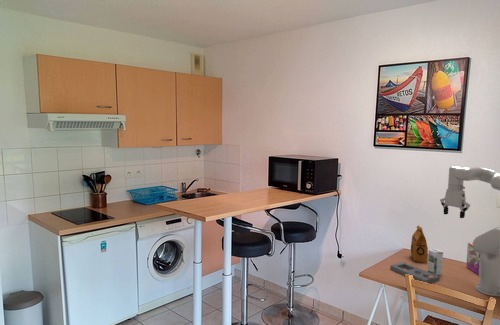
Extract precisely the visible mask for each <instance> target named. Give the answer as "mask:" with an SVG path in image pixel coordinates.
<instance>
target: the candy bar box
mask: <svg viewBox="0 0 500 325" xmlns="http://www.w3.org/2000/svg"><path fill="white" fill-rule="evenodd" d="M466 252H467V254H466V268H467V269H468V270H469V271H471V272H473V273H474V274H476V275H477V276H478V275H479V276H480V266H481V256H482V254H480V253H478V252H477V251H476V250H475V249H474V247H473V242H467V251H466Z"/></svg>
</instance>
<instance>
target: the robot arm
mask: <svg viewBox="0 0 500 325" xmlns="http://www.w3.org/2000/svg"><path fill="white" fill-rule="evenodd" d="M464 181H466V182H468V181H469V182H470V181H479V182H480V181H481V182H484V183H487V184H490V186H491V188H493V189H494V190H496V191H500V173H499V172H498V171H496V170H492V169H489V168H485V167H482V166H481V167H480V166H470V167H468V166H467V167H463V166H459V165H452V166H450V167H449V168H448V184H447V188H446V190H445V194H444V198H440V199H439V200H440V204H441V205H442V208H443V215H448V214H449V207H454V208H459V210H460V212H459V218H460V219H465V216H466V211H468V210H469V208H470V207H471V204H469V203H468V202H467V201H466V199H467V198H466V192H465V189H466V187H465V186H464ZM472 243H473V247H474V249H475V250H476V251H477V252H478V253H480V254H482V256H481V266H480V275H479V280H478V282H479V283H478V284H476V285H475V290H476V291H478V292H479V293H481V294H484V295H487V296H491V297H500V226H497V227H495V228H492V229H490V230H488V231H486V232H484V233H481V234H479V235H478V236H476V237H475V238H474V239H473V242H472Z"/></svg>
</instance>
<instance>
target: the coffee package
mask: <svg viewBox="0 0 500 325" xmlns="http://www.w3.org/2000/svg"><path fill="white" fill-rule="evenodd" d="M411 236H412V237H411V244H410V255H411V258H412V260H413V261H414V263H417V262H418V263H422V264H428V252H429V248H428V243H427V239H426V235H425V234H424V232H423V227H421V226H420V225H416V230H415V231H414V233H413V234H412V235H411Z"/></svg>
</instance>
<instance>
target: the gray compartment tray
mask: <svg viewBox="0 0 500 325" xmlns="http://www.w3.org/2000/svg"><path fill="white" fill-rule="evenodd" d="M390 270H391V271H394V272H396V273H399V274H400V275H402V276H404V275H405V274H410V275H413V278H414V279H415V280H419V281H423V282H427V283H430V284H432V282H434V283H436V281H437V282H439V281H440V275H437V276H436V275H434V274H431V273H429V272H427V271H426V270H424V269H422V268H420V267H416V266H414V265H413V264H410V263H407V262H405V261H402V262H399V263H395V264H391V265H390ZM415 280H414V281H415Z"/></svg>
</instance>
